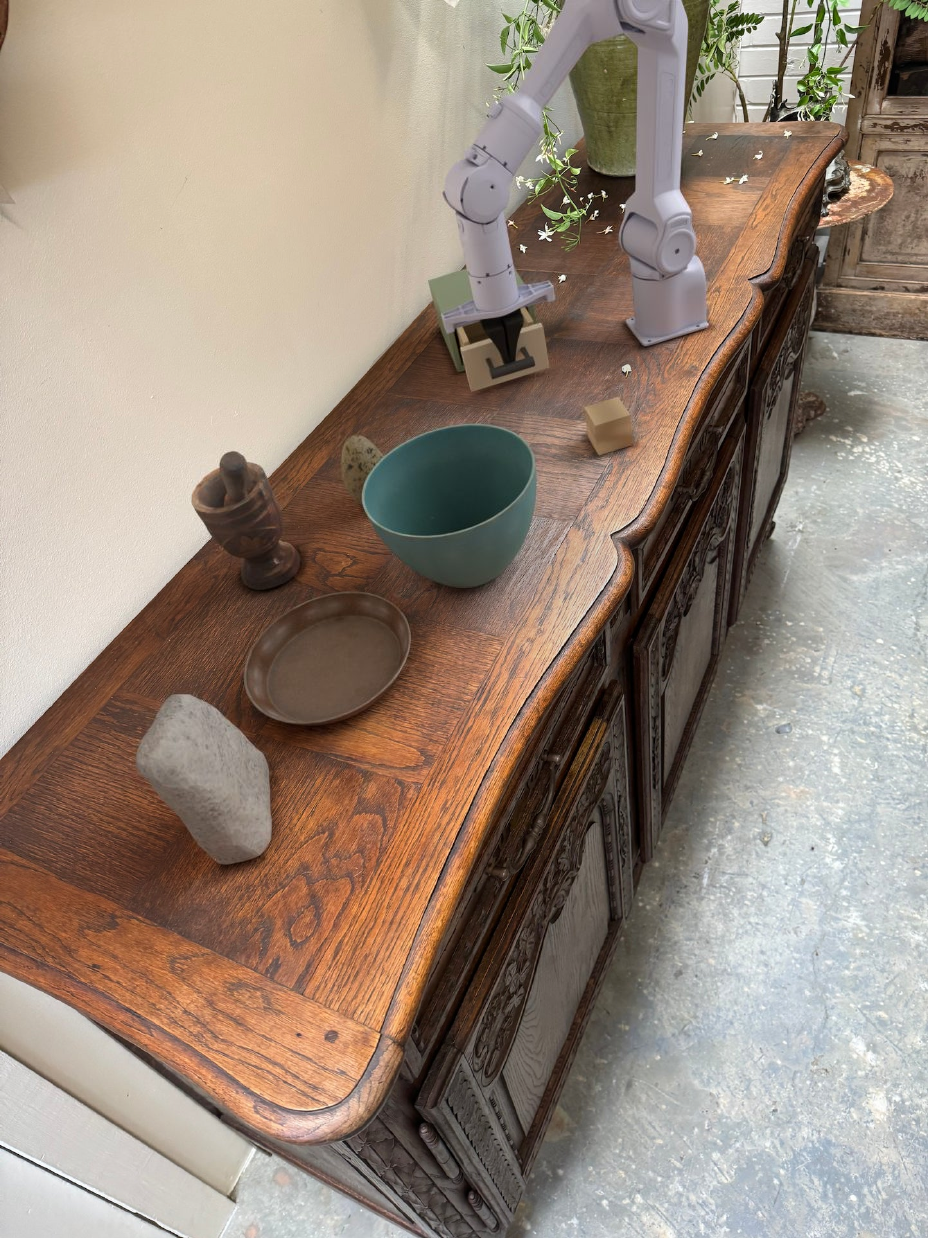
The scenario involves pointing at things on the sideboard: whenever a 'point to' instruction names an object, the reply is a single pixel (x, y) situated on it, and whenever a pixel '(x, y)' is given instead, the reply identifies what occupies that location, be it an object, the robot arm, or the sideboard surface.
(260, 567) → the mortar and pestle
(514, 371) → the drawer
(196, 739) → the decorative stone
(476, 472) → the plant pot
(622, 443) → the block
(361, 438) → the decorative egg
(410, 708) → the sideboard surface
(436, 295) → the cabinet
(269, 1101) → the sideboard surface
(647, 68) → the robot arm
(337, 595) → the plant saucer
